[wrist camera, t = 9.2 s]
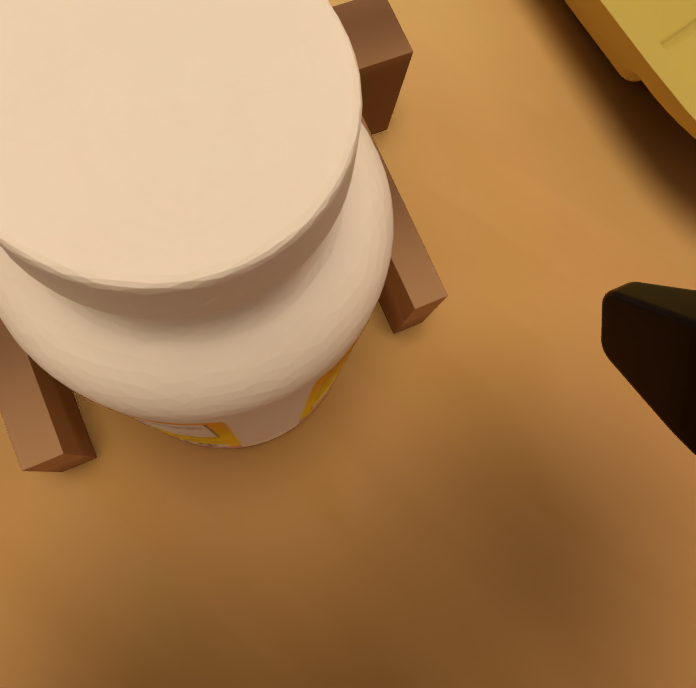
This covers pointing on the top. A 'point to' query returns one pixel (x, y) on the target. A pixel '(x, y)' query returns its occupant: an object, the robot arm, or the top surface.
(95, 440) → the top surface
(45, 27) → the supplement bottle
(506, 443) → the top surface
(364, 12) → the walnut holder rail
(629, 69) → the plastic component
